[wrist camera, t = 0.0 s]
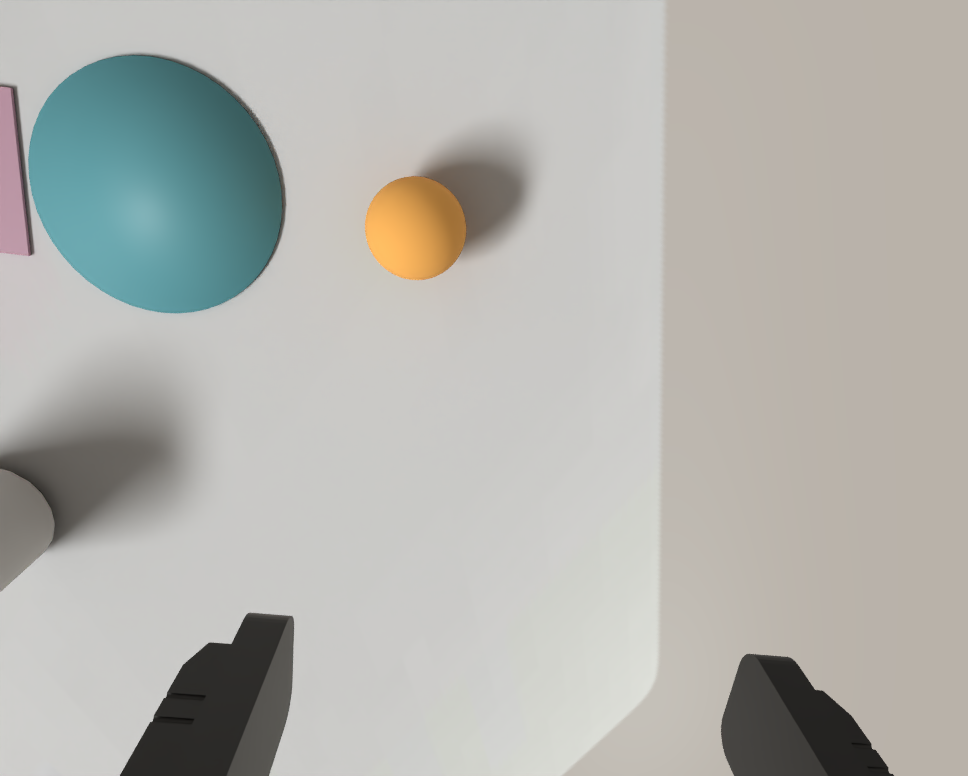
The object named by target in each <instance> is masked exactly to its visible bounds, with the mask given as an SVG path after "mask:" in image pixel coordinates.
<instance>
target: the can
mask: <svg viewBox="0 0 968 776" xmlns="http://www.w3.org/2000/svg"><path fill="white" fill-rule="evenodd" d="M54 528H55V523H54V519H53V514H52V510H51V508H50V506H49V505H48V503H47V501H46V500H45V498H44V496H43V495H42V494H41V492H40V491H39V490H38V489H36V488H35V487H34V486H33V485H32V484H31V483H30V482H29V481H27V480H25V479H23V478H22V477H20V476H18V475H16V474H14V473H13V472H11V471H7V470H3V469H0V592H1V591H2V590H3V589H4V588H5V587H6V586H7V585H9V584H10V583H11V582H12V581H13V580H14V579H15V578H16V577H17V576H18V575H20V574H21V573H22V572H23V571H24V570H25V569H26V568H27V567H28V566H30V565H31V564H32V563H33V562H34V561H35V560H36V559H37V558H38V557H40V556H41V555H42V554H43V553H44V552H45V551H46V549H47V548H48V546H49V544H50V543H51V541H52V540H53V534H54Z"/></svg>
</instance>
